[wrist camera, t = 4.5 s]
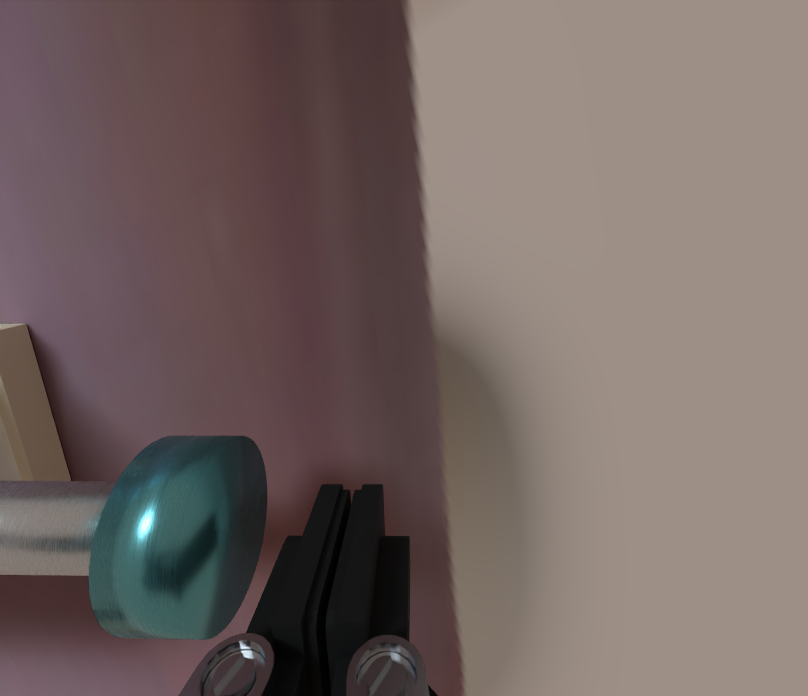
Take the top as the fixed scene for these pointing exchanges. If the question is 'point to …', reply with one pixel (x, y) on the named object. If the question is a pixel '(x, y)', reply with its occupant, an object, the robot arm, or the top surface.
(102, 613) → the shaft
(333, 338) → the top surface
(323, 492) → the robot arm
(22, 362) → the housing
